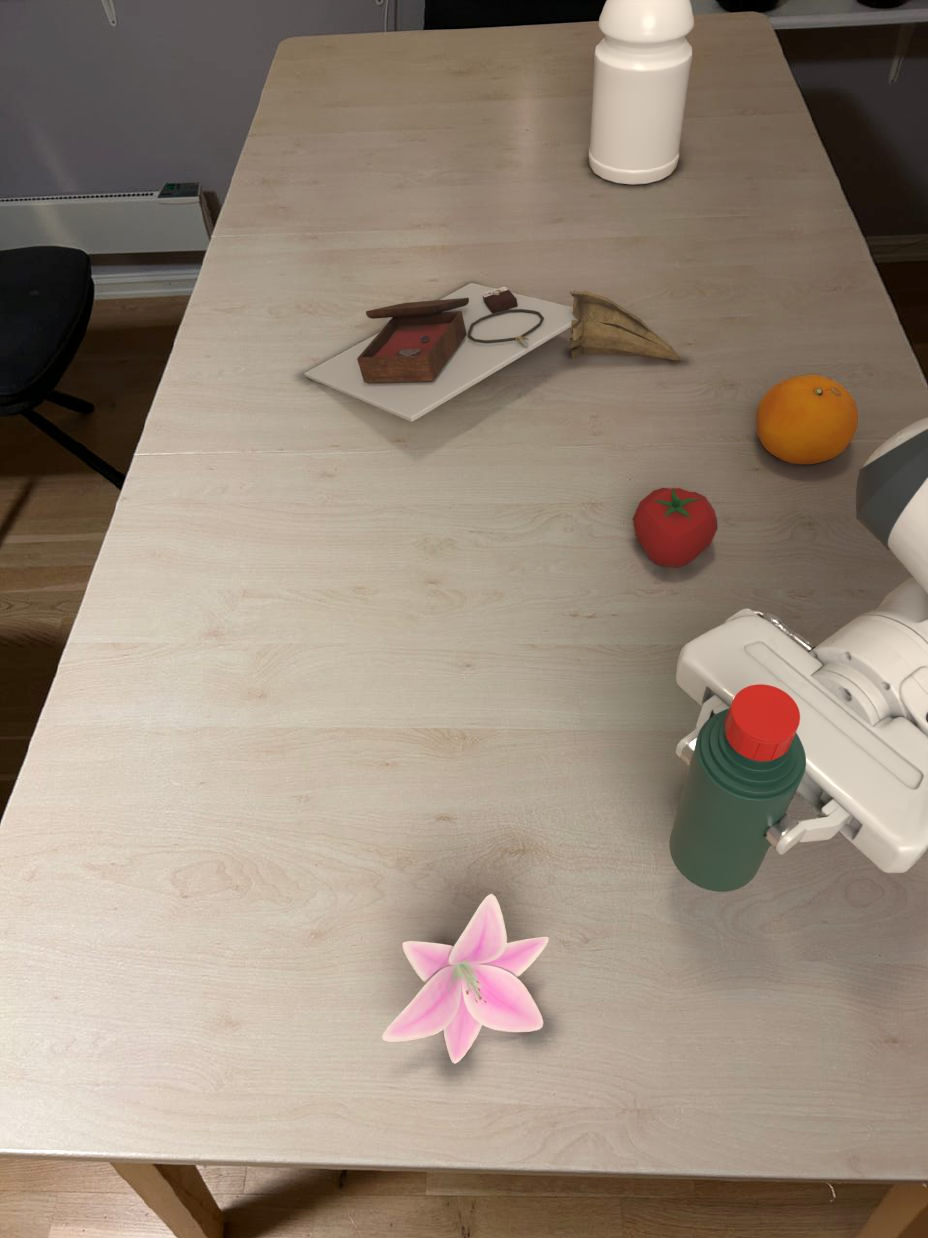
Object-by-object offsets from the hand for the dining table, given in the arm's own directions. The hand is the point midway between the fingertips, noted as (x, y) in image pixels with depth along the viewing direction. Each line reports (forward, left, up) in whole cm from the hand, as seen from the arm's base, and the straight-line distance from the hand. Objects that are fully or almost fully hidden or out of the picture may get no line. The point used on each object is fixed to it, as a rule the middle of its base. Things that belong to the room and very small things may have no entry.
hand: (727, 798), depth 61 cm
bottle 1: (+56, -105, -15) cm, 120 cm away
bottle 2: (0, -1, -9) cm, 9 cm away
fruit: (+11, -54, -15) cm, 57 cm away
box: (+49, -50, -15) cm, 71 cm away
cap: (0, -1, +9) cm, 9 cm away
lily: (+10, +16, -15) cm, 25 cm away
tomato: (+17, -33, -15) cm, 40 cm away
